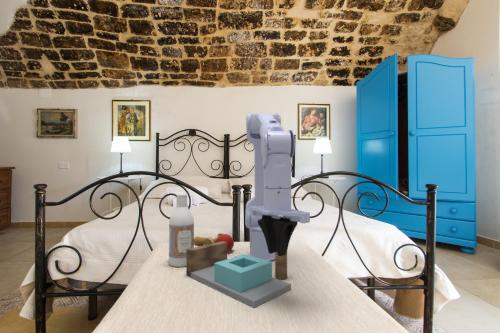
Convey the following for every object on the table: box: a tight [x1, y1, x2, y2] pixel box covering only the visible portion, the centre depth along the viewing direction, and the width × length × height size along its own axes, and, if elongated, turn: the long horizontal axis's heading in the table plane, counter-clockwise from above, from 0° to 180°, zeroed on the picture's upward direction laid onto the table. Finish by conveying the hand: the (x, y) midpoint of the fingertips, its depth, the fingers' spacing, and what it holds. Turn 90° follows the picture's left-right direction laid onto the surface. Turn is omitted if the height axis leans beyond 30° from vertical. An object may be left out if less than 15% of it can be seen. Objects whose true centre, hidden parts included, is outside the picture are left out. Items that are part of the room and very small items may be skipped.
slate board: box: [185, 266, 292, 308], centre depth 66 cm, size 12×24×1 cm, turn 45°
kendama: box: [194, 232, 235, 253], centre depth 95 cm, size 8×6×18 cm
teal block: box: [214, 254, 273, 292], centre depth 64 cm, size 10×9×4 cm
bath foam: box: [168, 193, 195, 268], centre depth 80 cm, size 7×7×20 cm
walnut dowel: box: [274, 252, 288, 281], centre depth 69 cm, size 3×3×7 cm
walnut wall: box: [185, 241, 228, 278], centre depth 74 cm, size 12×2×7 cm, turn 135°
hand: (277, 253), depth 57 cm, fingers closed
